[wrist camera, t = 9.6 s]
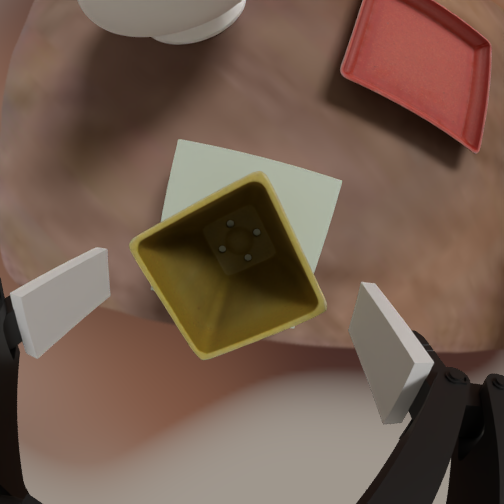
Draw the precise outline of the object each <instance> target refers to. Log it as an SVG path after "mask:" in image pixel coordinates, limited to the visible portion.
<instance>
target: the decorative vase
mask: <svg viewBox="0 0 504 504" xmlns="http://www.w3.org/2000/svg"><path fill="white" fill-rule="evenodd" d="M78 3H79V5H80V7H81V9H82V10H83V12H84V13H85V14H86V16H87V17H88V18H89V19H90V20H91V21H92V22H94V23H95V24H96V25H98V26H99V27H101V28H103V29H105V30H107V31H109V32H112V33H115V34H118V35H123V36H130V37H152V38H154V39H155V40H157V41H160V42H163V43H167V44H175V45H182V44H191V43H196V42H200V41H203V40H206V39H208V38H211V37H213V36H215V35H217V34H219V33H221V32H222V31H224V30H225V29H227V28H228V27H229V26H231V25H232V24H233V23H234V22H235V21H236V20H237V19H238V17H239V16H240V15H241V13H242V11H243V9H244V7H245V3H246V0H78Z"/></svg>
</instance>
